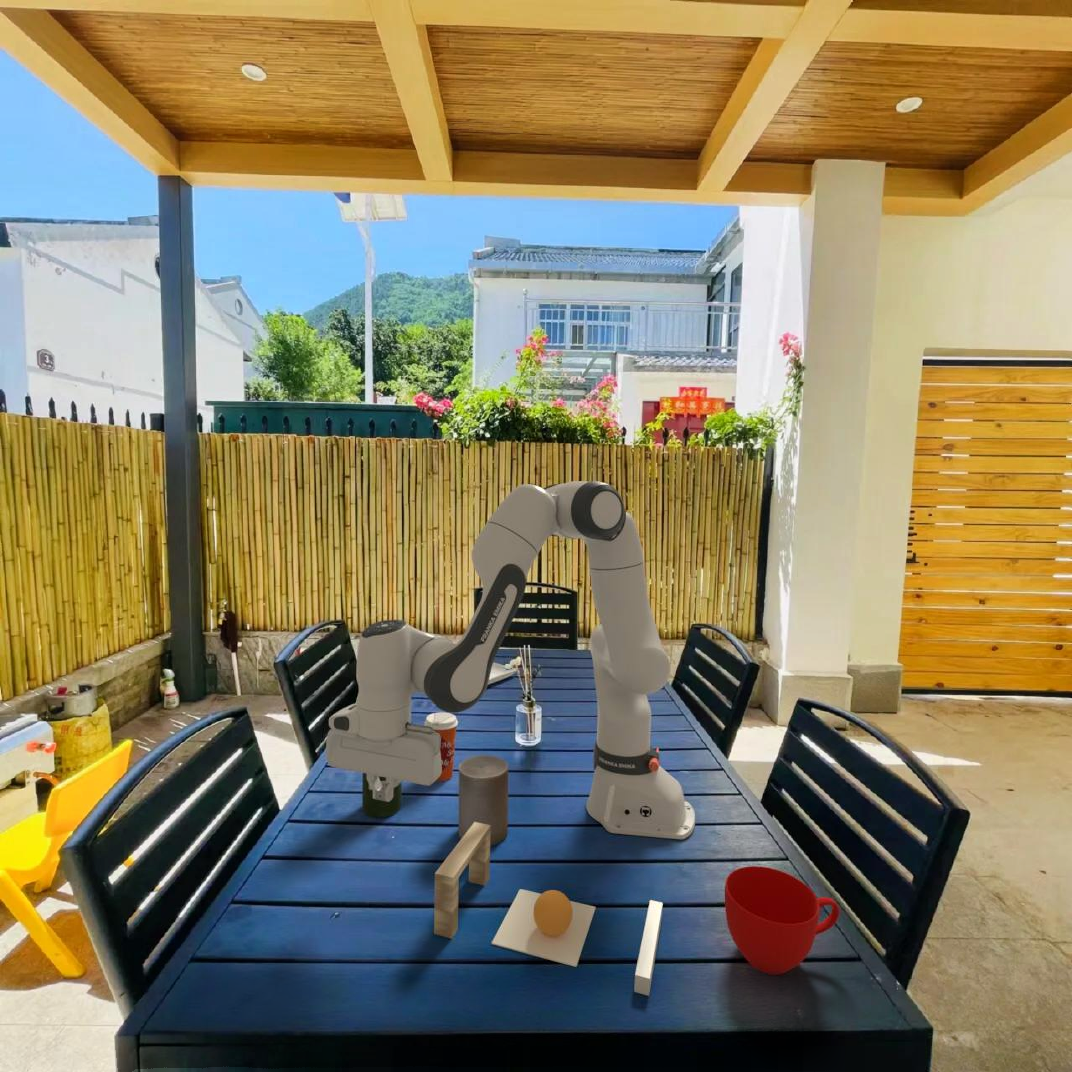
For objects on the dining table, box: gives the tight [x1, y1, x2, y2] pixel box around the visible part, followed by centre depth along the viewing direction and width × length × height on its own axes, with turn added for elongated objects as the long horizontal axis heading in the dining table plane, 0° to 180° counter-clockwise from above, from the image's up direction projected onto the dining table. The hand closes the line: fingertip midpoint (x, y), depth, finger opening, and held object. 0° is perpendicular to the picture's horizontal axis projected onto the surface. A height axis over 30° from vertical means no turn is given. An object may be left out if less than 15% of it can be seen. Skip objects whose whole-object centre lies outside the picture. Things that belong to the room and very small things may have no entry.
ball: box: [534, 889, 573, 936], centre depth 95 cm, size 6×6×6 cm
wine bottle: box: [361, 773, 403, 819], centre depth 128 cm, size 8×8×30 cm
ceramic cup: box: [724, 865, 840, 976], centre depth 91 cm, size 13×17×10 cm
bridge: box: [433, 822, 491, 939], centre depth 100 cm, size 3×15×10 cm, turn 162°
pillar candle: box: [457, 754, 509, 847], centre depth 121 cm, size 10×10×15 cm
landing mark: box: [491, 888, 597, 968], centre depth 97 cm, size 13×13×1 cm
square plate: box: [487, 662, 518, 686], centre depth 213 cm, size 27×27×4 cm
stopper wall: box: [633, 899, 664, 997], centre depth 92 cm, size 2×16×2 cm, turn 162°
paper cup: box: [423, 711, 459, 782], centre depth 143 cm, size 8×8×14 cm
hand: (383, 798), depth 104 cm, fingers closed
